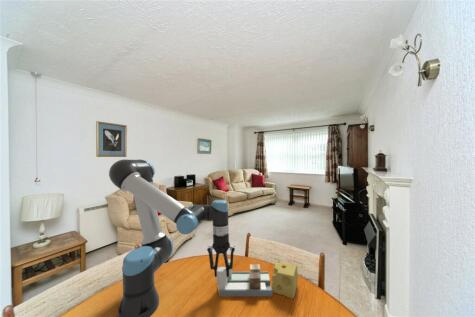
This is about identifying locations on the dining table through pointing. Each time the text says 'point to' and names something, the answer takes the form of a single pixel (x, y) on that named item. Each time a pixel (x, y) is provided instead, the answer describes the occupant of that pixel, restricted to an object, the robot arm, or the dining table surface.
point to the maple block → (255, 268)
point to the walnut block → (254, 280)
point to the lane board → (247, 291)
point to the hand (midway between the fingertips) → (222, 283)
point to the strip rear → (244, 275)
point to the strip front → (232, 285)
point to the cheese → (285, 279)
